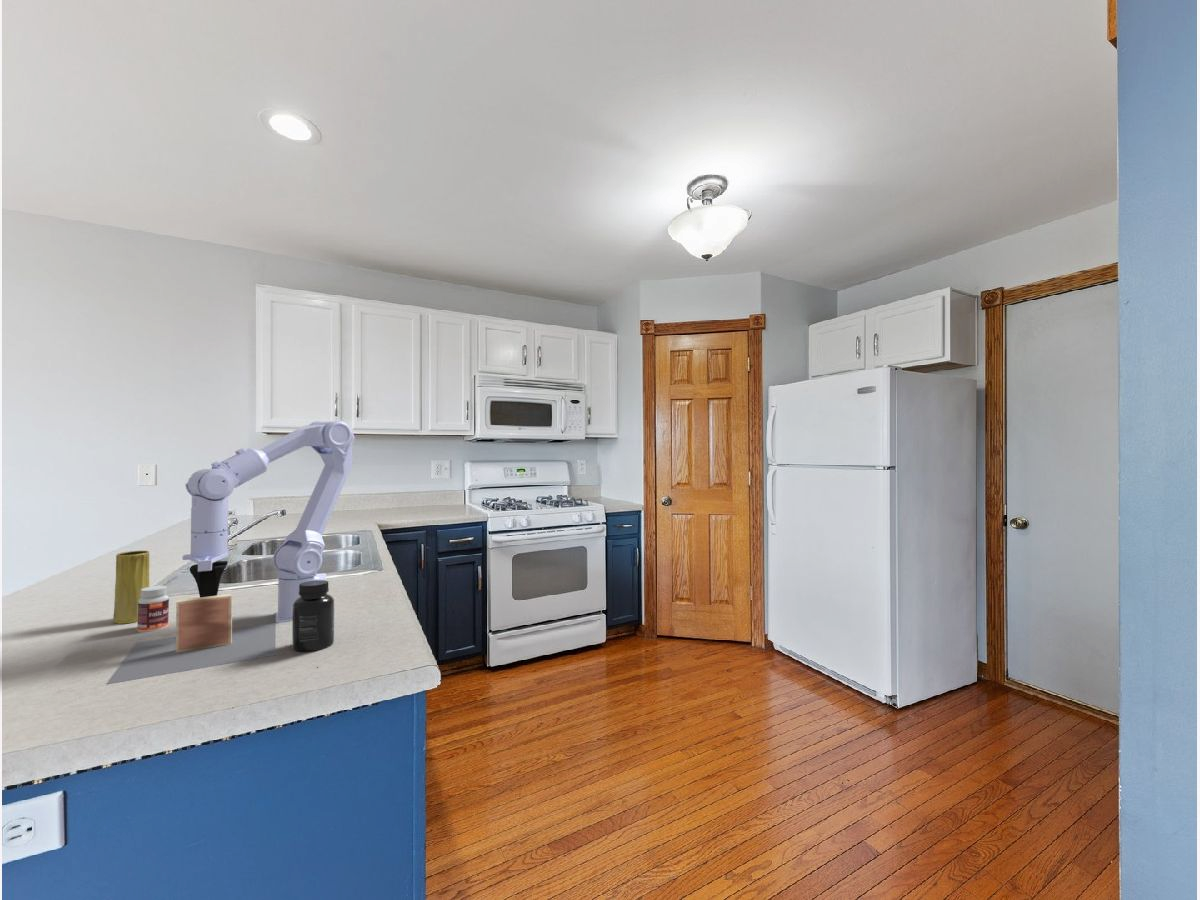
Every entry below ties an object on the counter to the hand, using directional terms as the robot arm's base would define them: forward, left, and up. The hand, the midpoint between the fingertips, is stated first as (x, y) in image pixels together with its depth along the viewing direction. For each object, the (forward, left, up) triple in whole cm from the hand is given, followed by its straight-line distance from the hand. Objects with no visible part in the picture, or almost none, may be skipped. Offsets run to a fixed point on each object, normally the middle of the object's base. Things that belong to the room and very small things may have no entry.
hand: (208, 601), depth 99 cm
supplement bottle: (-17, +15, -7) cm, 24 cm away
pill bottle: (+10, -12, -7) cm, 17 cm away
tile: (0, +6, -7) cm, 9 cm away
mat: (0, +7, -7) cm, 10 cm away
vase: (+15, -22, -7) cm, 27 cm away
